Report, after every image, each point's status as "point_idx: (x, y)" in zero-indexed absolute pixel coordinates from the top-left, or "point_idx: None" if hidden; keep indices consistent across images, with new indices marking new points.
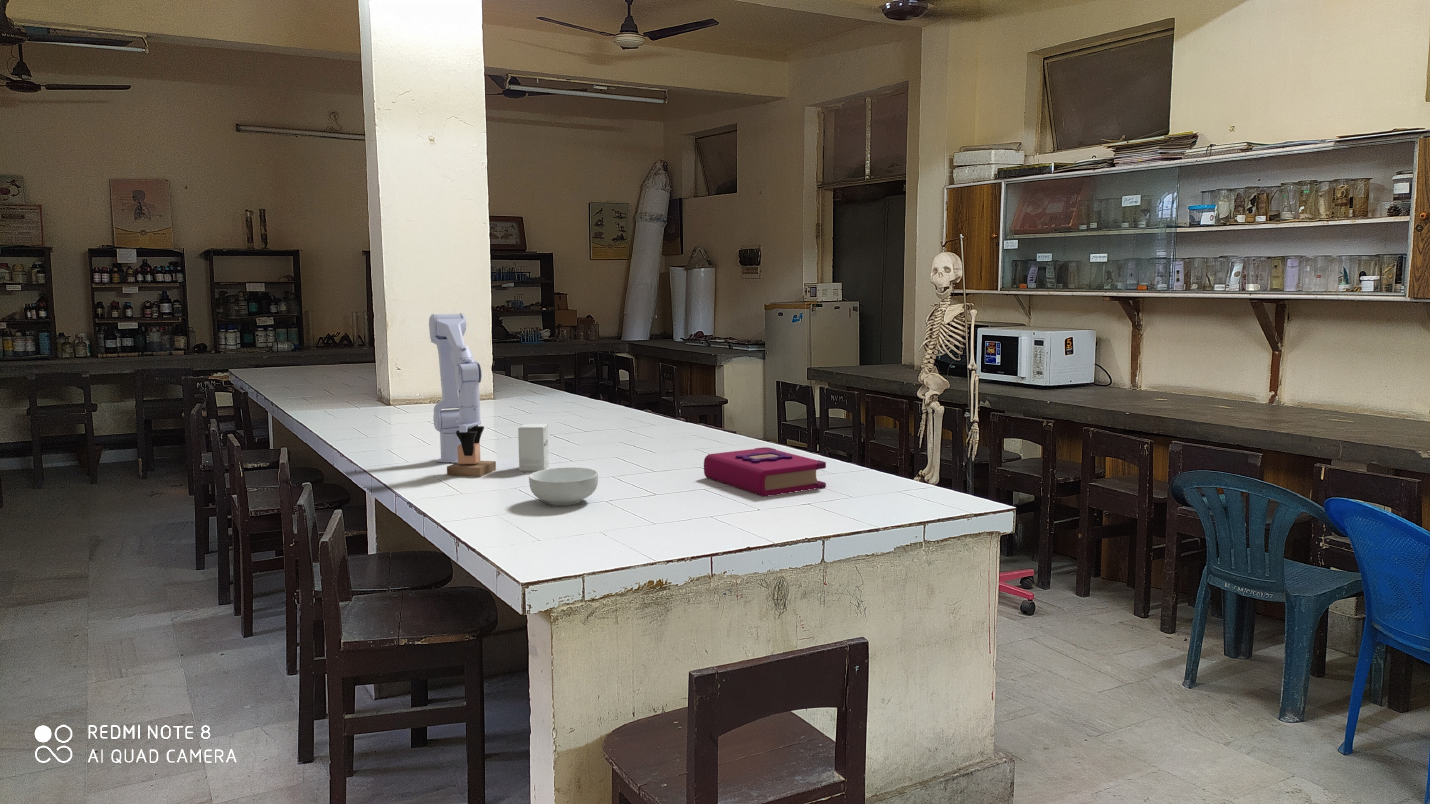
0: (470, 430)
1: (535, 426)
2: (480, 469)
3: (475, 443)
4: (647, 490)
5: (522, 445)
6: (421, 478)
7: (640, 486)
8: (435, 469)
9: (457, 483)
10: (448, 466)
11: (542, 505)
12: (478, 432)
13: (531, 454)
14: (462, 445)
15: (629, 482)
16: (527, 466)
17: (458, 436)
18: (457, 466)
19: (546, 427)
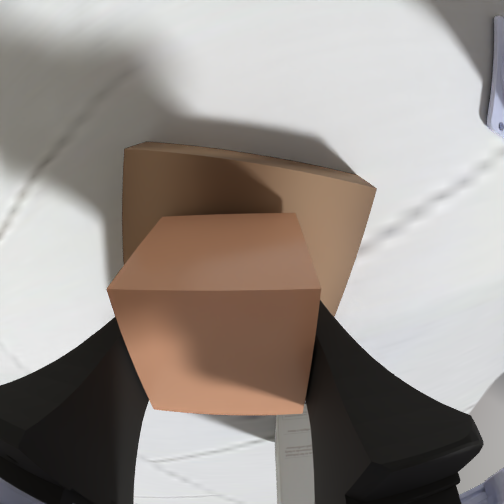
0: (339, 484)
1: None
2: None
3: (281, 397)
4: (134, 496)
5: (279, 493)
6: (77, 44)
7: (154, 498)
8: (337, 14)
9: (25, 256)
10: (130, 157)
11: None
12: (318, 490)
13: (276, 474)
14: (84, 348)
15: (176, 498)
16: (275, 432)
17: (3, 392)
18: (137, 218)
19: None
